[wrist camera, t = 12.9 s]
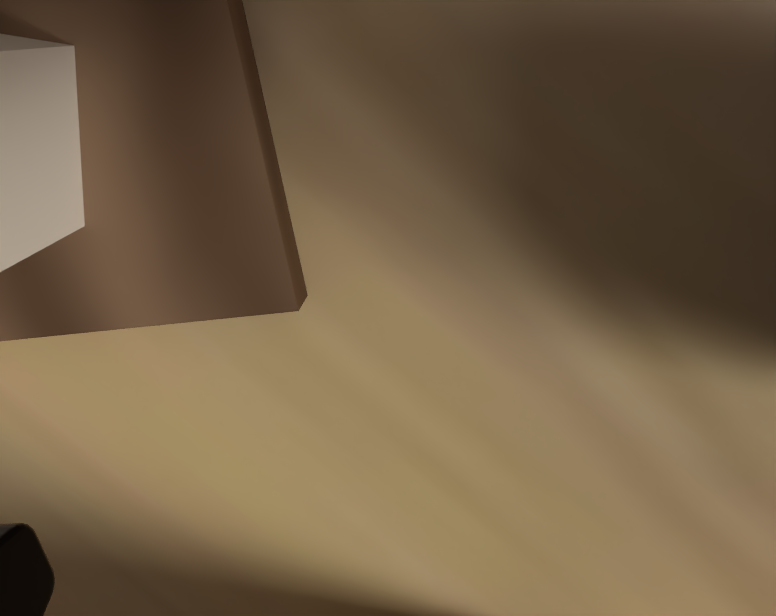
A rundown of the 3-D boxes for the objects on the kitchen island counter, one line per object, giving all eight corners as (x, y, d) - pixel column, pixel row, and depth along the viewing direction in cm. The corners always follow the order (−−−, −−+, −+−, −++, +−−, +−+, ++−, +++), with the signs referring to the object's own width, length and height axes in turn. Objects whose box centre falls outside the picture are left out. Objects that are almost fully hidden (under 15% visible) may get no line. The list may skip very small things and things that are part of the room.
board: (197, -201, 16) (176, -217, 15) (307, 295, 21) (298, 310, 20) (-305, -78, 18) (-354, -84, 17) (-99, 338, 23) (-127, 354, 22)
